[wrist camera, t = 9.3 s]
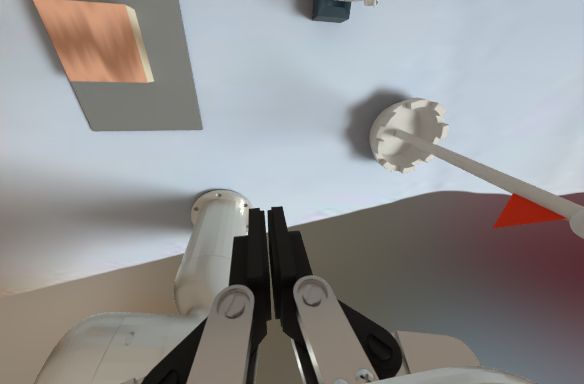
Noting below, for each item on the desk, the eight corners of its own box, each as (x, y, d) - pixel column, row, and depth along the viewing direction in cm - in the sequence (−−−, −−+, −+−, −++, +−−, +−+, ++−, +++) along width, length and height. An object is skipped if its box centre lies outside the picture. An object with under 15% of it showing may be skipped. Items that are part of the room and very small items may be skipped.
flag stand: (418, 80, 37) (791, 109, 11) (432, 139, 43) (687, 241, 18) (353, 123, 39) (546, 230, 13) (376, 173, 45) (534, 308, 20)
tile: (146, 82, 28) (69, 81, 27) (154, 81, 30) (83, 80, 29) (124, 4, 24) (31, -3, 23) (134, 9, 26) (50, 3, 25)
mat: (202, 129, 35) (202, 129, 35) (95, 130, 32) (93, 131, 32) (165, -67, 24) (164, -69, 23) (-4, -88, 21) (-9, -91, 21)
